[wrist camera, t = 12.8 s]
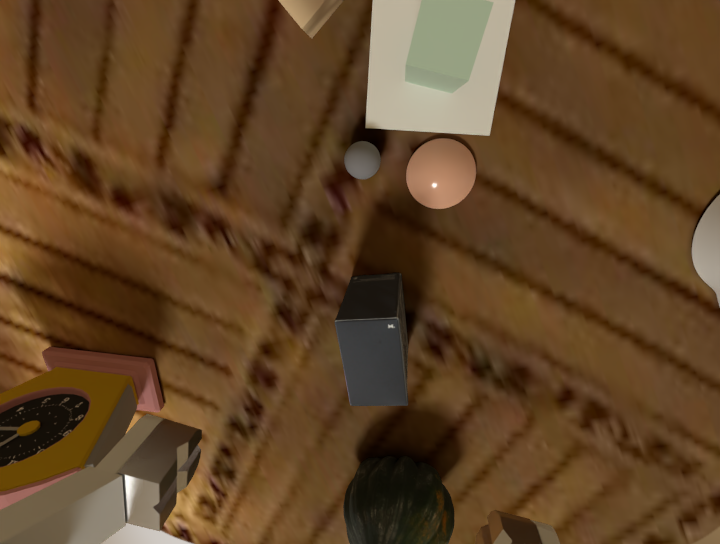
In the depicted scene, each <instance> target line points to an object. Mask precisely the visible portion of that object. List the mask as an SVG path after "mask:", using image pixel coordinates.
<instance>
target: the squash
mask: <svg viewBox="0 0 720 544" xmlns="http://www.w3.org/2000/svg"><path fill="white" fill-rule="evenodd" d="M344 518H345V522H346V525H347V535H348V539H349V543H350V544H448V543H449V540H450V538H451V535H452V532H453V528H454V507H453V504H452V500H451V497H450V494H449V492H448V491H447V489H446V488H445V486H444V485H443V484H442V481H441V478H440V476H439V474H438V472H437V470H436V469H435V468H433V467H432V466H430V465H429V464H427V463H423V462H419V463H414V461H413V460H412V459H411V458H410V457H407V456H402V457H400V458H399V459H398V460H397V459H396V458H395V457H390V456H387V457H384V458H383V459H381V458H368V459H366V460H365V461H363V462H362V463H361V464H360V466H359V468H358V470H357V472H356V474H355V477H354V479H353V480H352V481H351V483H350V484H349V486H348V488H347V490H346V494H345V500H344Z"/></svg>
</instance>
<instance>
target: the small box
mask: <svg viewBox="0 0 720 544" xmlns="http://www.w3.org/2000/svg"><path fill="white" fill-rule="evenodd" d="M406 325H407V324H406V316H405V303H404V293H403V285H402V274H401V273H392V274H379V275H362V276H354V277H351V280H350V283H349V286H348V288H347V291H346V294H345V296H344V299H343V302H342V304H341V307H340V310H339V312H338V315H337V318H336V320H335V326H336V331H337V336H338V341H339V347H340V352H341V357H342V362H343V368H344V373H345V379H346V384H347V389H348V395H349V401H350V405H352V406H397V405H403V406H407V405H408V394H407V358H408V337H407V327H406Z"/></svg>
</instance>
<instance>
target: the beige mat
mask: <svg viewBox="0 0 720 544" xmlns="http://www.w3.org/2000/svg"><path fill="white" fill-rule="evenodd" d="M421 1H422V0H373V7H372V24H371V41H370V58H369V75H368V92H367V110H366V127H365V128H375V129H391V130H407V131H423V132H439V133H455V134H471V135H488V136H490V130H491V125H492V120H493V114H494V109H495V104H496V99H497V93H498V88H499V83H500V78H501V72H502V67H503V62H504V56H505V51H506V46H507V41H508V35H509V30H510V25H511V20H512V14H513V9H514V4H515V0H486V1H490V2H494V3H493V6H492V9H491V12H490V16H489V19H488V22H487V25H486V28H485V31H484V34H483V38H482V41H481V44H480V47H479V50H478V53H477V56H476V59H475V63H474V66H473V69H472V72H471V75H470V78H469V81H468V82H466V83H465V84H464V85H462V86H461V87H460V88H458V89H457V90H456V91H454V92H453V93H452V94H451V93H448V92H444V91H440V90H436V89H432V88H428V87H424V86H420V85H416V84H412V83H408V82H405V67H406V61H407V57H408V53H409V49H410V45H411V41H412V37H413V33H414V29H415V25H416V21H417V17H418V13H419V9H420V5H421Z"/></svg>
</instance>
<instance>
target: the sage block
mask: <svg viewBox="0 0 720 544" xmlns="http://www.w3.org/2000/svg"><path fill="white" fill-rule="evenodd" d="M493 3H494V2H490V1H486V0H422V1H421V5H420V9H419V13H418V17H417V21H416V25H415V29H414V33H413V37H412V41H411V45H410V49H409V53H408V57H407V61H406V67H405V82H408V83H412V84H416V85H420V86H424V87H428V88H432V89H436V90H440V91H444V92H448V93H451V94H452V93H453V92H454V91H456V90H457V89H458V88H460V87H461V86H462V85H464V84H465V83H466V82H468V81H469V78H470V75H471V72H472V69H473V66H474V63H475V59H476V56H477V53H478V50H479V47H480V44H481V41H482V38H483V34H484V31H485V28H486V25H487V22H488V19H489V16H490V12H491V9H492V6H493Z"/></svg>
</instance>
